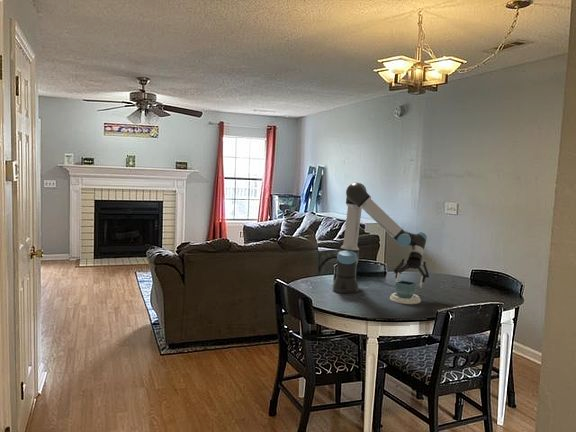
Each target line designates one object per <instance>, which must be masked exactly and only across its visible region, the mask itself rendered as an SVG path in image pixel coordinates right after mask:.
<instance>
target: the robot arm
mask: <svg viewBox="0 0 576 432" xmlns="http://www.w3.org/2000/svg"><path fill="white" fill-rule="evenodd" d="M367 191H368V190H367V188H366V186H365V185H364V184H362V182H361V183H360V182H353V183H351V184H349V185H348V187H346V191H345V194H346V195H345V196H346V200H345V205H346V207H347V210H346V212H347V213H346V220H345V228H344V237H343V243H342V245H341V246H340V248H339V249H340V250H339V251H338V253H337V255H336V256H337V257H336V259H337V261H336V276H335V280H334V283H333V286H332V291H334V292H335V293H338V294H339V293H340V294H348V295H349V294H356V293H359V286H358V282H357V281H358V280H357V266H358V263H359V255H360V248H359V247H358V242H359V234H360V226H361V219H362V210H363V211H365V213H366V214H367V215H369V217H371V218H372V219H373V220H374V221H375V222H376V223H377V224H378V225H379V226H380V227H381V228H382V229H383V230H384V231H385V232H386V233H387V234H388V235H389V236H390V237H391V238H392V241H395V242H397V244H398V245H399V246H400V247H403V248H404V247H406V248H407V247H409V246H410V250H409V254H408V259H406V260H405V259H404V258H402V259H401V261H400V262H399V264H397V266H396V267H394V269H393V273H394V274H395V276H394V277H395V283H396V282H399V281H400V276H401V274H402V273H404V272H405V271H406V270H409V269H414V270H416V269H417V271H418V272H419V273H420V275H421V277H420V281H419V288H420V289H421V288H422V287H423V283H425V281H426V278H430V274H429V271H428V269H427V263H426V261H423V262H422V259H423V255H424V252H425V247H426V243H427V234H426V233H424V232H422V231H417V232H414V233H412V232H408V231H406V230H404V229H403V228H402V227H401V226H399V224H397V223H396V221H395V220H394V219H393V218H392V217H390V215H388V214H387V213H386V212H385V211H384V210H383V209H382V208H381V206H379V205H378V204H376V202H375V201H374V200H373V199H372V196H371V195H370V194H369V193H368V192H367ZM421 266H422V267H423V269H424V271H423V269H422V268H421Z"/></svg>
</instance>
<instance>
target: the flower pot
mask: <svg viewBox="0 0 576 432" xmlns="http://www.w3.org/2000/svg"><path fill="white" fill-rule="evenodd" d="M416 285H417V283H416V282H412V281H406V280H399V281H398V282H396V281H395V293H397V295H398V297H400V298H408V299H410V298H411V297H412V296H413V294H415V292H416V291H415V290H416Z"/></svg>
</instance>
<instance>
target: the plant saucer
mask: <svg viewBox="0 0 576 432" xmlns="http://www.w3.org/2000/svg"><path fill="white" fill-rule="evenodd" d="M389 300H390V301H392V302H394V303H397V304H404V305H417V304H421V301H422V300H421V298H420V296H419V295H418V294H416V293H414V294H413V296H412V297H411V298H410V299H408V298H400V297H398V295H397V292H393V293H391V295H390V296H389Z"/></svg>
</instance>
